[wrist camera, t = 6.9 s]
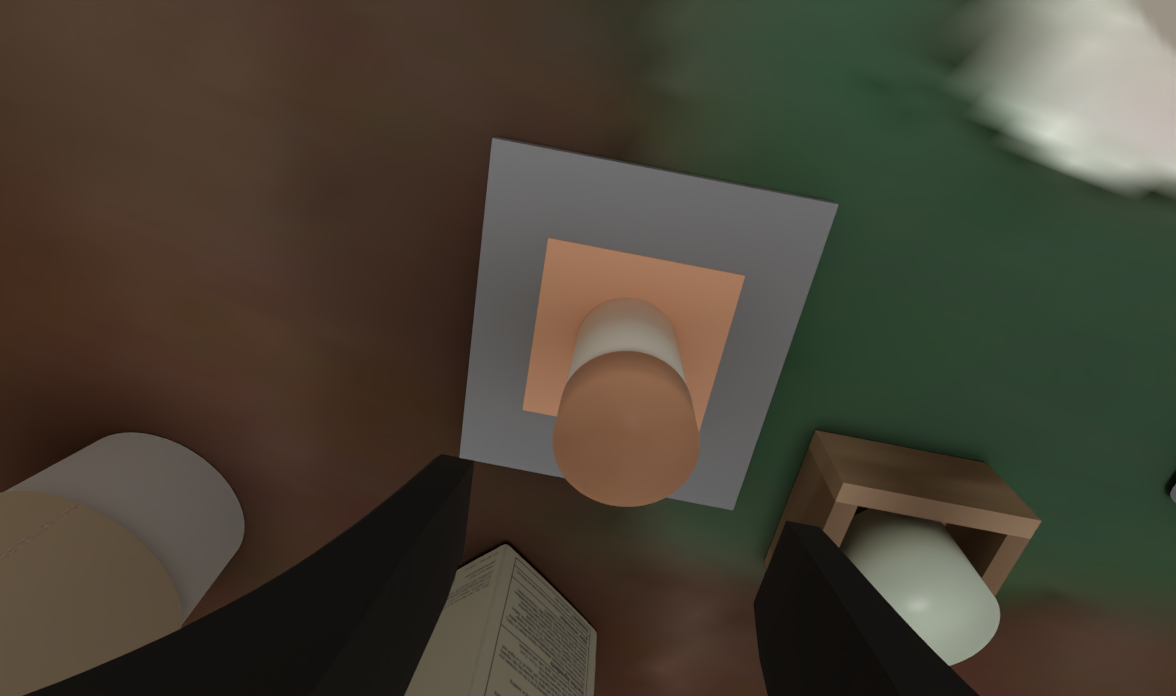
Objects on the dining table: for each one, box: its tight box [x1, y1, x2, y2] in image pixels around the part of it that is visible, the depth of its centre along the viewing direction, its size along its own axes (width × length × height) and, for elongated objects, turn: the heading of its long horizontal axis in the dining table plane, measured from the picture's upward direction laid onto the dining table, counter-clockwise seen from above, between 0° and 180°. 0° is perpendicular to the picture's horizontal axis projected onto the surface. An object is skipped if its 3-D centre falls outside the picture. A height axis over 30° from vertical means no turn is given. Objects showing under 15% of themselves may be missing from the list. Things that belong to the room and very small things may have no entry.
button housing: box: [764, 430, 1041, 597], centre depth 20 cm, size 6×6×3 cm
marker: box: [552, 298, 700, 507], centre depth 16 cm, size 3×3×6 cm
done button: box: [839, 508, 1000, 666], centre depth 18 cm, size 4×4×3 cm
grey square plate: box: [459, 137, 839, 510], centre depth 19 cm, size 10×11×1 cm
